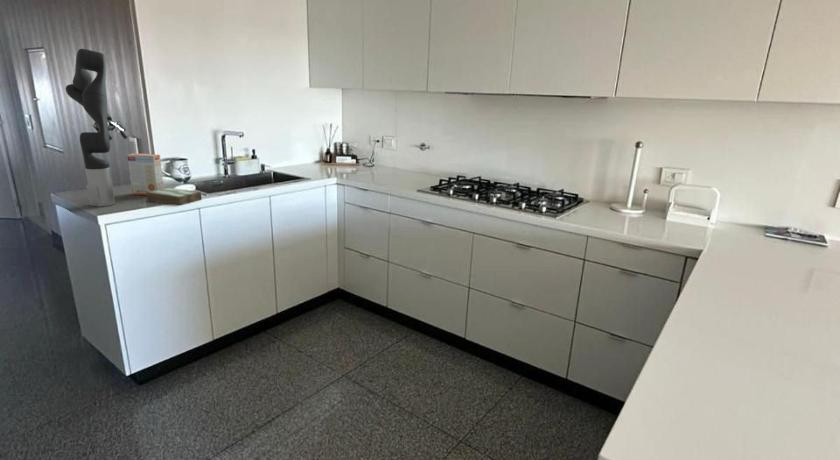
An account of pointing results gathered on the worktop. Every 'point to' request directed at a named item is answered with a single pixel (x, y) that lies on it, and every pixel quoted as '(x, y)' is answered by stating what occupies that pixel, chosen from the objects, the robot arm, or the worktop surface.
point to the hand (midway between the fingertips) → (118, 138)
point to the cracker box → (145, 173)
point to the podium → (173, 196)
